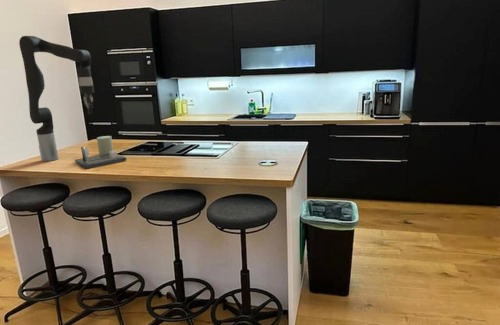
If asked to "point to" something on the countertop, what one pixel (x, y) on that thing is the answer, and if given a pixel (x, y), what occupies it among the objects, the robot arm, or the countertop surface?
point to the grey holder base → (98, 160)
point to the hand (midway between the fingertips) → (90, 114)
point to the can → (104, 144)
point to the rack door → (86, 152)
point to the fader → (113, 154)
